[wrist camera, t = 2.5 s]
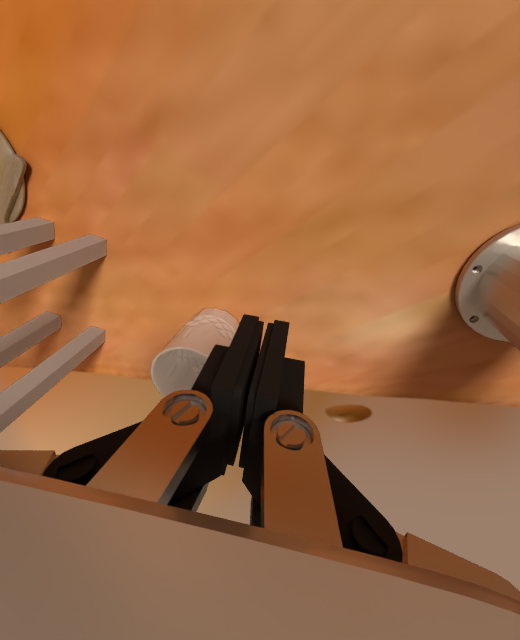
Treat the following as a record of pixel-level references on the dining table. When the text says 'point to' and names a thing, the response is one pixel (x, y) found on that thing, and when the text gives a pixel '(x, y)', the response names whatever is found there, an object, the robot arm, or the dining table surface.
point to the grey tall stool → (25, 276)
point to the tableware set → (11, 182)
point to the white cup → (191, 350)
